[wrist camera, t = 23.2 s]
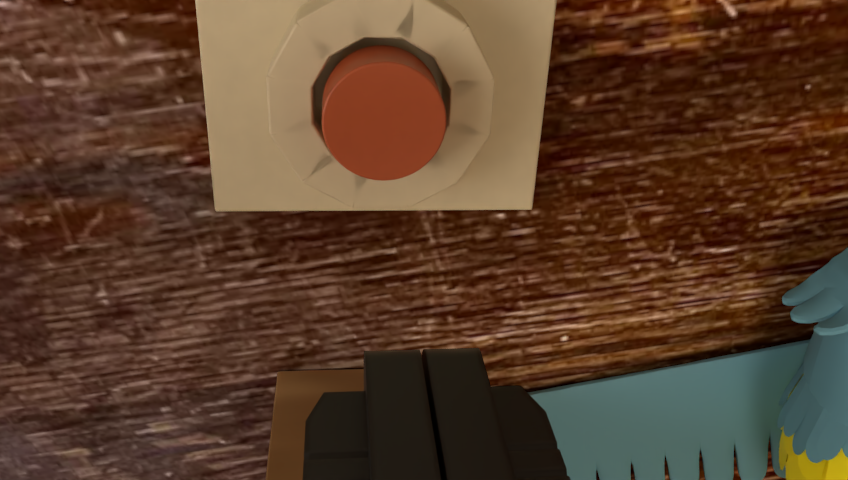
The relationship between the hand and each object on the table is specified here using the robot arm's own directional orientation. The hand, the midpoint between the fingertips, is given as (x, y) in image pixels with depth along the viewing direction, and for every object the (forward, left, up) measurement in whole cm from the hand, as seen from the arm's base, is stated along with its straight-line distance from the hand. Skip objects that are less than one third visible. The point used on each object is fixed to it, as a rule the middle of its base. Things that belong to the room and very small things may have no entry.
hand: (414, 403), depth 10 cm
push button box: (0, 0, -15) cm, 15 cm away
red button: (0, 0, -13) cm, 13 cm away
